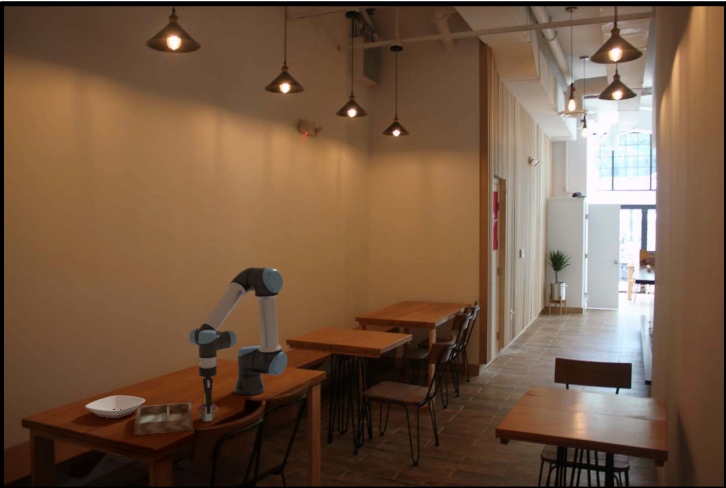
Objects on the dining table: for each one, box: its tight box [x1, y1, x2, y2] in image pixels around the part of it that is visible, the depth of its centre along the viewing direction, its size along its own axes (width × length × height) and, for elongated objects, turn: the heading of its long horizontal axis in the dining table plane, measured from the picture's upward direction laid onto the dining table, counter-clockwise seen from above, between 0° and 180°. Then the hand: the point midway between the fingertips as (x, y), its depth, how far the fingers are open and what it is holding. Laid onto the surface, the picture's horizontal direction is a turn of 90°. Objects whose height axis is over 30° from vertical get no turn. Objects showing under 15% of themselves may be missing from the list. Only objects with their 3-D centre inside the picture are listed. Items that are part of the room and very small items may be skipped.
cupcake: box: [197, 392, 219, 422], centre depth 255 cm, size 9×8×12 cm
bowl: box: [84, 394, 146, 419], centre depth 262 cm, size 22×22×5 cm
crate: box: [133, 402, 193, 435], centre depth 249 cm, size 22×24×5 cm
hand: (207, 417), depth 255 cm, fingers closed on cupcake, 8 cm apart
